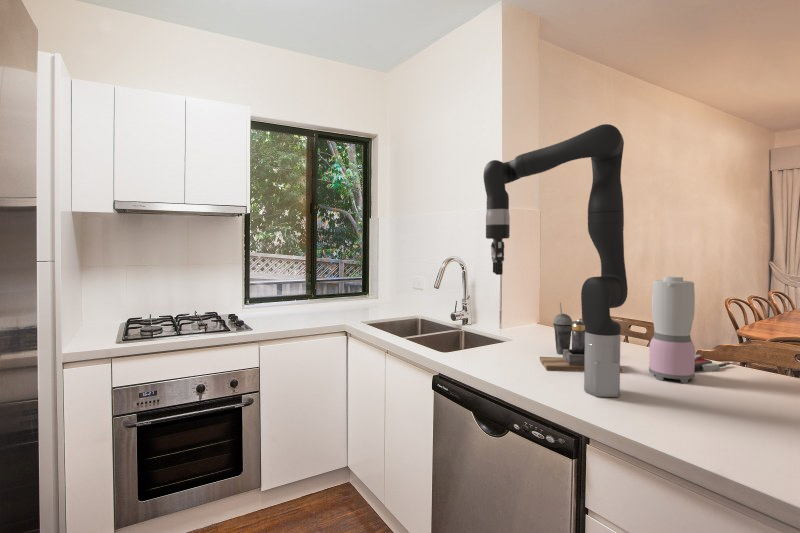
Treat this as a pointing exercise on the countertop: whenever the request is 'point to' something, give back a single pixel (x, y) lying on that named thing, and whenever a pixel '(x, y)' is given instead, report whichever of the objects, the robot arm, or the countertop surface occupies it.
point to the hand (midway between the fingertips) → (497, 273)
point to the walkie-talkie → (706, 364)
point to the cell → (578, 337)
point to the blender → (672, 329)
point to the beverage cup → (562, 331)
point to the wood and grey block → (565, 362)
